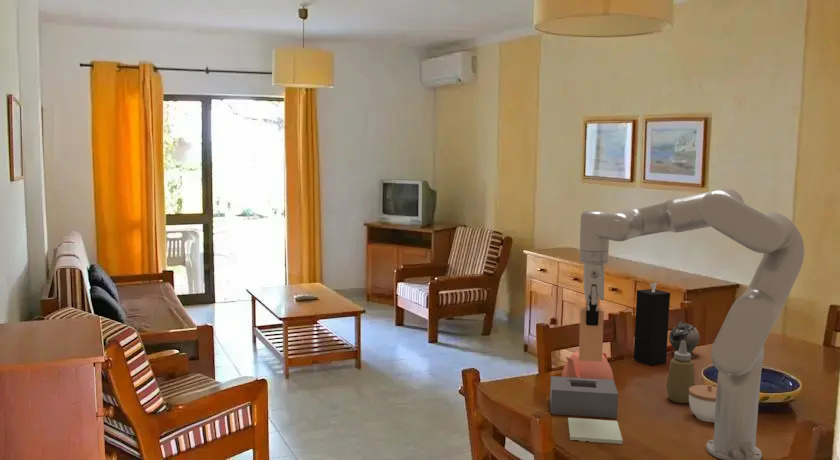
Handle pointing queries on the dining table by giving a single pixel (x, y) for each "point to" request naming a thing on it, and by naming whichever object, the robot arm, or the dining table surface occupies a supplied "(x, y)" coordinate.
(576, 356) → the teapot
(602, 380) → the dispenser
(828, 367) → the dining table surface
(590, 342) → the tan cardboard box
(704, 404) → the lidded jar
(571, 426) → the mat
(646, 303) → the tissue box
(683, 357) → the squeeze bottle
